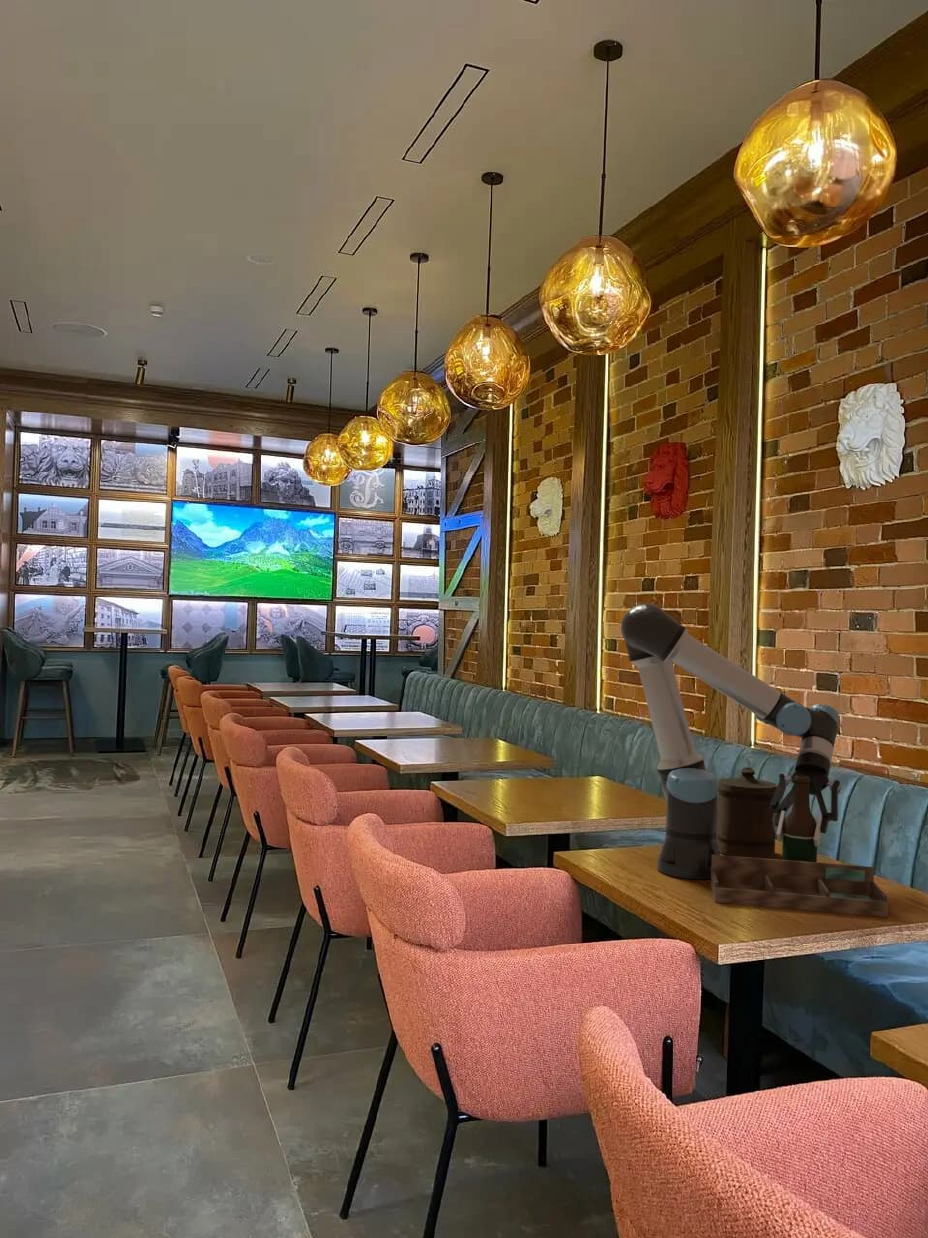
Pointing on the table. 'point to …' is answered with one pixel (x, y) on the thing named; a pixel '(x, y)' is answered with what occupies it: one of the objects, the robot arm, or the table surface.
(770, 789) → the wooden container
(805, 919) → the table surface
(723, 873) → the condiment rack
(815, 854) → the beer bottle
